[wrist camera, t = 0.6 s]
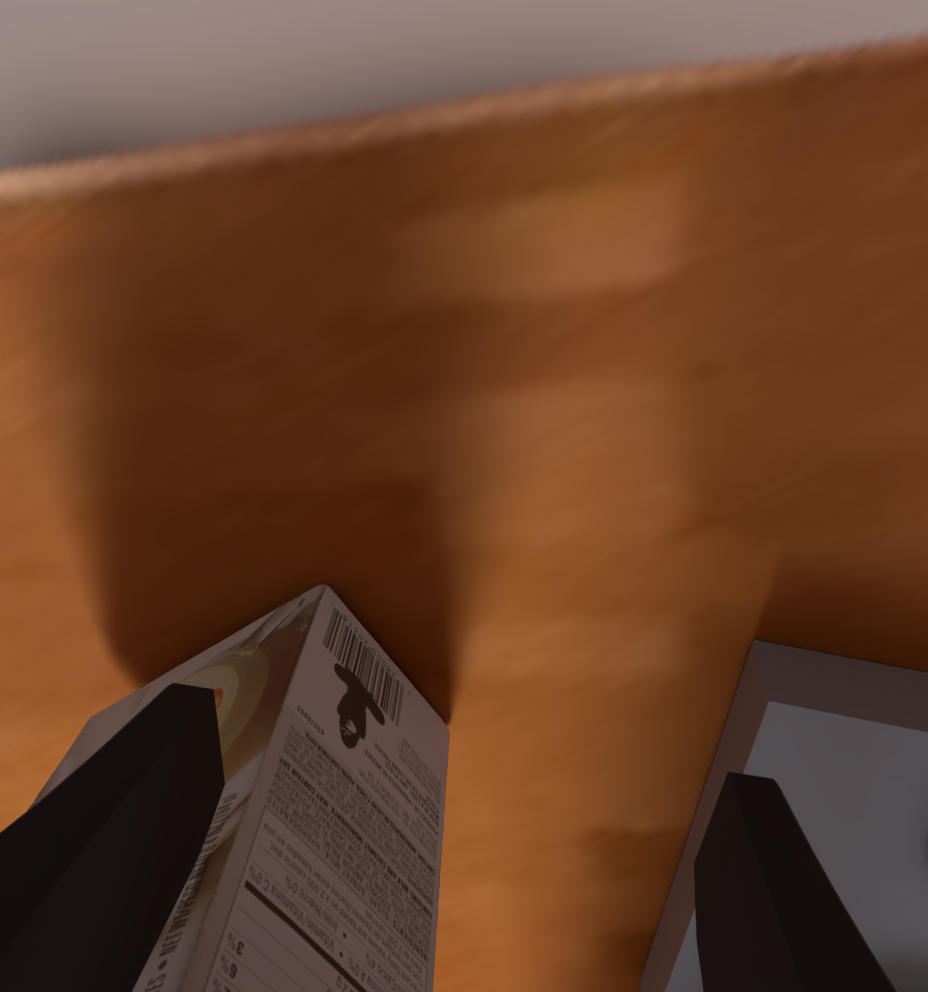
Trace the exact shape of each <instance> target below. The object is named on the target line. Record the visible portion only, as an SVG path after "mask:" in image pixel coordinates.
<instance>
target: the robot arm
mask: <svg viewBox="0 0 928 992" xmlns="http://www.w3.org/2000/svg"><path fill="white" fill-rule="evenodd" d="M224 786H225V779H224V771H223V762H222V754H221V745H220V737H219V729H218V720H217V712H216V703H215V695H214V689H210V688H203V687H197V686H191V685H185V684H178V683H172V684H170V685H169V686H167V687H166V688H165V689H164V690H162V691H161V692H160V693H159V694H158V695H157V696H156V697H155V698H154V699H153V700H152V701H151V702H150V703H148V704H147V705H146V706H145V707H144V708H143V709H142V710H141V711H140V712H139V713H138V714H137V715H136V716H135V717H133V718H132V719H131V720H130V721H129V722H128V723H127V724H126V725H125V726H124V727H123V728H122V729H120V730H119V731H118V732H117V733H116V734H115V735H114V736H113V737H112V738H111V739H110V740H108V741H107V742H106V743H105V744H104V745H103V746H102V747H101V748H100V749H99V750H97V751H96V752H95V753H94V754H93V755H92V756H91V757H90V758H89V759H87V760H86V761H85V762H84V763H83V764H82V765H81V766H79V767H78V768H77V769H76V770H75V771H74V772H72V773H71V774H70V775H69V776H68V777H67V778H66V779H64V780H63V781H62V782H61V783H60V784H59V785H58V786H56V787H55V788H54V789H53V790H52V791H51V792H49V793H48V794H47V795H46V796H45V797H44V798H42V799H41V800H40V801H39V802H38V803H37V804H35V805H34V806H33V807H32V808H31V809H29V810H28V811H27V812H26V813H24V814H23V815H22V816H21V817H19V818H18V819H17V820H16V821H14V822H13V823H12V824H11V825H9V826H8V827H7V828H6V829H4V830H3V831H2V832H1V833H0V992H132V991H133V989H134V987H135V985H136V983H137V981H138V979H139V977H140V975H141V973H142V971H143V969H144V967H145V965H146V963H147V961H148V959H149V957H150V955H151V953H152V951H153V949H154V947H155V945H156V943H157V941H158V939H159V937H160V935H161V933H162V931H163V929H164V927H165V925H166V923H167V921H168V919H169V917H170V915H171V913H172V911H173V908H174V906H175V904H176V902H177V900H178V898H179V896H180V894H181V892H182V890H183V888H184V886H185V884H186V882H187V880H188V878H189V876H190V874H191V872H192V870H193V868H194V866H195V863H196V861H197V859H198V857H199V855H200V853H201V850H202V847H203V845H204V842H205V839H206V837H207V834H208V831H209V829H210V826H211V823H212V820H213V818H214V815H215V812H216V809H217V806H218V803H219V800H220V798H221V795H222V792H223V789H224ZM694 884H695V916H696V939H697V948H698V956H699V963H700V970H701V977H702V984H703V992H897V991H896V990H895V988H894V986H893V985H892V983H891V982H890V980H889V979H888V977H887V975H886V974H885V972H884V971H883V969H882V967H881V966H880V964H879V963H878V961H877V959H876V958H875V956H874V955H873V953H872V951H871V950H870V948H869V946H868V945H867V943H866V941H865V940H864V938H863V936H862V935H861V933H860V931H859V930H858V928H857V926H856V925H855V923H854V921H853V920H852V918H851V916H850V915H849V913H848V911H847V910H846V908H845V906H844V904H843V903H842V901H841V899H840V898H839V896H838V894H837V892H836V891H835V889H834V887H833V885H832V884H831V882H830V880H829V878H828V876H827V875H826V873H825V871H824V869H823V867H822V865H821V864H820V862H819V860H818V858H817V856H816V855H815V853H814V851H813V849H812V847H811V845H810V844H809V842H808V840H807V838H806V836H805V834H804V832H803V830H802V829H801V827H800V825H799V823H798V821H797V819H796V817H795V815H794V813H793V811H792V809H791V807H790V806H789V804H788V802H787V800H786V798H785V796H784V794H783V792H782V790H781V788H780V786H779V785H778V783H777V782H776V781H775V780H774V779H772V778H766V777H759V776H753V775H747V774H741V773H734V772H728V773H727V775H726V778H725V781H724V784H723V786H722V789H721V792H720V794H719V797H718V800H717V802H716V805H715V808H714V811H713V813H712V816H711V819H710V821H709V824H708V827H707V830H706V832H705V835H704V838H703V840H702V843H701V846H700V849H699V851H698V854H697V857H696V859H695V862H694Z"/></svg>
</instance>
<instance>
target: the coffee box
mask: <svg viewBox="0 0 928 992" xmlns="http://www.w3.org/2000/svg"><path fill="white" fill-rule="evenodd" d="M172 683H178V684H185V685H191V686H197V687H203V688H210V689H214V695H215V703H216V712H217V720H218V729H219V737H220V745H221V754H222V762H223V771H224V779H225V786H224V789H223V792H222V795H221V798H220V800H219V803H218V806H217V809H216V812H215V815H214V818H213V820H212V823H211V826H210V829H209V831H208V834H207V837H206V839H205V842H204V845H203V847H202V850H201V853H200V855H199V857H198V859H197V861H196V863H195V866H194V868H193V870H192V872H191V874H190V876H189V878H188V880H187V882H186V884H185V886H184V888H183V890H182V892H181V894H180V896H179V898H178V900H177V902H176V904H175V906H174V908H173V911H172V913H171V915H170V917H169V919H168V921H167V923H166V925H165V927H164V929H163V931H162V933H161V935H160V937H159V939H158V941H157V943H156V945H155V947H154V949H153V951H152V953H151V955H150V957H149V959H148V961H147V963H146V965H145V967H144V969H143V971H142V973H141V975H140V977H139V979H138V981H137V983H136V985H135V987H134V989H133V991H132V992H433V977H434V962H435V946H436V930H437V918H438V900H439V886H440V865H441V852H442V839H443V827H444V805H445V792H446V776H447V766H448V748H449V730H448V728H447V726H446V724H445V723H444V722H443V720H442V719H441V718H440V716H439V715H438V714H437V713H436V712H435V711H434V709H433V708H432V707H431V706H430V705H429V704H428V702H427V701H426V700H425V699H424V698H423V697H422V695H421V694H420V693H419V692H418V691H417V689H416V688H415V687H414V686H413V685H412V684H411V682H410V681H409V680H408V679H407V678H406V676H405V675H404V674H403V673H402V672H401V671H400V669H399V668H398V667H397V666H396V665H395V664H394V662H393V661H392V660H391V659H390V658H389V656H388V655H387V654H386V653H385V652H384V650H383V649H382V648H381V647H380V646H379V644H378V643H377V642H376V641H375V640H374V639H373V638H372V636H371V635H370V634H369V633H368V632H367V631H366V629H365V628H364V627H363V626H362V625H361V624H360V622H359V621H358V620H357V619H356V618H355V616H354V615H353V614H352V613H351V612H350V610H349V609H348V608H347V607H346V606H345V605H344V603H343V602H342V601H341V600H340V599H339V598H338V596H337V595H336V594H335V593H334V592H333V590H332V589H331V588H330V587H328V586H327V585H325V584H323V585H319V586H316V587H314V588H312V589H310V590H309V591H307V592H305V593H304V594H302V595H300V596H298V597H296V598H295V599H293V600H291V601H289V602H288V603H286V604H284V605H282V606H280V607H279V608H277V609H275V610H274V611H272V612H270V613H268V614H267V615H265V616H263V617H262V618H260V619H258V620H256V621H255V622H253V623H251V624H250V625H248V626H246V627H244V628H243V629H241V630H239V631H238V632H236V633H234V634H233V635H231V636H229V637H228V638H226V639H224V640H222V641H221V642H219V643H217V644H215V645H214V646H212V647H210V648H208V649H207V650H205V651H203V652H202V653H200V654H198V655H196V656H195V657H193V658H191V659H190V660H188V661H186V662H184V663H183V664H181V665H179V666H177V667H176V668H174V669H172V670H171V671H169V672H167V673H166V674H164V675H162V676H160V677H159V678H157V679H155V680H154V681H152V682H150V683H149V684H147V685H145V686H144V687H142V688H140V689H139V690H137V691H135V692H133V693H132V694H130V695H128V696H127V697H125V698H123V699H122V700H120V701H118V702H116V703H115V704H113V705H111V706H109V707H108V708H106V709H104V710H103V711H101V712H99V713H98V714H96V715H94V716H92V717H91V718H90V719H89V720H88V722H87V723H86V725H85V726H84V728H83V729H82V731H81V732H80V734H79V735H78V737H77V738H76V740H75V741H74V743H73V744H72V746H71V748H70V749H69V751H68V752H67V754H66V755H65V757H64V758H63V760H62V761H61V763H60V764H59V765H58V767H57V768H56V770H55V771H54V773H53V774H52V775H51V777H50V778H49V780H48V781H47V783H46V784H45V786H44V787H43V789H42V790H41V791H40V793H39V794H38V796H37V798H36V799H35V801H34V803H33V804H32V805H31V807H30V808H29V809H31V808H32V807H33V806H34V805H35V804H37V803H38V802H39V801H40V800H41V799H42V798H44V797H45V796H46V795H47V794H48V793H49V792H51V791H52V790H53V789H54V788H55V787H56V786H58V785H59V784H60V783H61V782H62V781H63V780H64V779H66V778H67V777H68V776H69V775H70V774H71V773H72V772H74V771H75V770H76V769H77V768H78V767H79V766H81V765H82V764H83V763H84V762H85V761H86V760H87V759H89V758H90V757H91V756H92V755H93V754H94V753H95V752H96V751H97V750H99V749H100V748H101V747H102V746H103V745H104V744H105V743H106V742H107V741H108V740H110V739H111V738H112V737H113V736H114V735H115V734H116V733H117V732H118V731H119V730H120V729H122V728H123V727H124V726H125V725H126V724H127V723H128V722H129V721H130V720H131V719H132V718H133V717H135V716H136V715H137V714H138V713H139V712H140V711H141V710H142V709H143V708H144V707H145V706H146V705H147V704H148V703H150V702H151V701H152V700H153V699H154V698H155V697H156V696H157V695H158V694H159V693H160V692H161V691H162V690H164V689H165V688H166V687H167V686H169V685H170V684H172ZM29 809H28V810H29ZM28 810H27V811H28Z"/></svg>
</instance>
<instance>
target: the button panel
mask: <svg viewBox="0 0 928 992" xmlns="http://www.w3.org/2000/svg"><path fill="white" fill-rule="evenodd" d="M728 772H734V773H741V774H747V775H753V776H759V777H766V778H772V779H774V780H775V781H776V782H777V783H778V785H779V786H780V788H781V790H782V792H783V794H784V796H785V798H786V800H787V802H788V804H789V806H790V807H791V809H792V811H793V813H794V815H795V817H796V819H797V821H798V823H799V825H800V827H801V829H802V830H803V832H804V834H805V836H806V838H807V840H808V842H809V844H810V845H811V847H812V849H813V851H814V853H815V855H816V856H817V858H818V860H819V862H820V864H821V865H822V867H823V869H824V871H825V873H826V875H827V876H828V878H829V880H830V882H831V884H832V885H833V887H834V889H835V891H836V892H837V894H838V896H839V898H840V899H841V901H842V903H843V904H844V906H845V908H846V910H847V911H848V913H849V915H850V916H851V918H852V920H853V921H854V923H855V925H856V926H857V928H858V930H859V931H860V933H861V935H862V936H863V938H864V940H865V941H866V943H867V945H868V946H869V948H870V950H871V951H872V953H873V955H874V956H875V958H876V959H877V961H878V963H879V964H880V966H881V967H882V969H883V971H884V972H885V974H886V975H887V977H888V979H889V980H890V982H891V983H892V985H893V986H894V988H895V990H896V991H897V992H928V673H926V672H921V671H916V670H911V669H905V668H900V667H895V666H890V665H884V664H879V663H874V662H869V661H863V660H858V659H853V658H848V657H842V656H837V655H832V654H827V653H821V652H816V651H811V650H806V649H801V648H795V647H790V646H785V645H780V644H774V643H769V642H764V641H759V640H753V642H752V645H751V648H750V651H749V654H748V657H747V660H746V663H745V666H744V669H743V672H742V675H741V678H740V681H739V684H738V687H737V690H736V693H735V696H734V699H733V702H732V705H731V708H730V711H729V714H728V717H727V720H726V723H725V726H724V729H723V732H722V735H721V738H720V741H719V744H718V747H717V750H716V753H715V756H714V759H713V762H712V765H711V768H710V771H709V774H708V777H707V780H706V783H705V786H704V789H703V792H702V795H701V798H700V801H699V804H698V807H697V810H696V813H695V816H694V819H693V822H692V825H691V828H690V831H689V834H688V837H687V840H686V843H685V846H684V849H683V852H682V855H681V858H680V861H679V864H678V867H677V870H676V873H675V876H674V880H673V883H672V886H671V889H670V892H669V895H668V898H667V901H666V904H665V907H664V910H663V913H662V916H661V919H660V922H659V925H658V928H657V931H656V934H655V937H654V940H653V943H652V946H651V949H650V952H649V955H648V958H647V961H646V964H645V967H644V970H643V973H642V976H641V979H640V992H703V984H702V977H701V970H700V963H699V956H698V948H697V939H696V916H695V884H694V862H695V859H696V857H697V854H698V851H699V849H700V846H701V843H702V840H703V838H704V835H705V832H706V830H707V827H708V824H709V821H710V819H711V816H712V813H713V811H714V808H715V805H716V802H717V800H718V797H719V794H720V792H721V789H722V786H723V784H724V781H725V778H726V775H727V773H728Z"/></svg>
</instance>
